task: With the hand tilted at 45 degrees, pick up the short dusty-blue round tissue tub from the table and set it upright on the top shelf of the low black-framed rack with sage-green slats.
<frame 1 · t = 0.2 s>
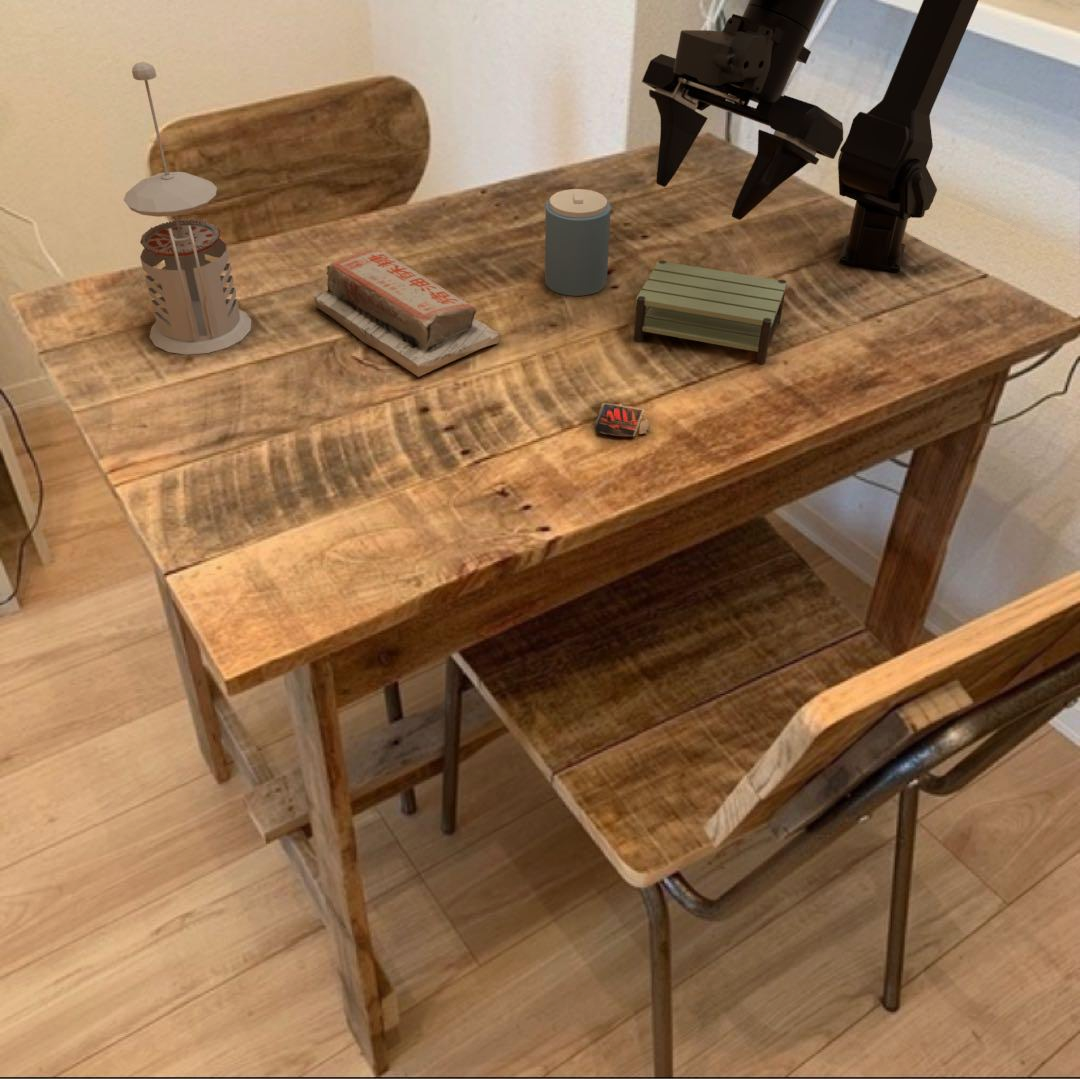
hand: (697, 201, 94), 14 cm above the table, tool tilted 30°, fingers open, 9 cm apart
tissue tub: (575, 281, 114), on the table
french press: (202, 334, 105), on the table
matchbox: (621, 424, 93), on the table
packaged product: (404, 328, 106), on the table
rack: (707, 331, 106), on the table
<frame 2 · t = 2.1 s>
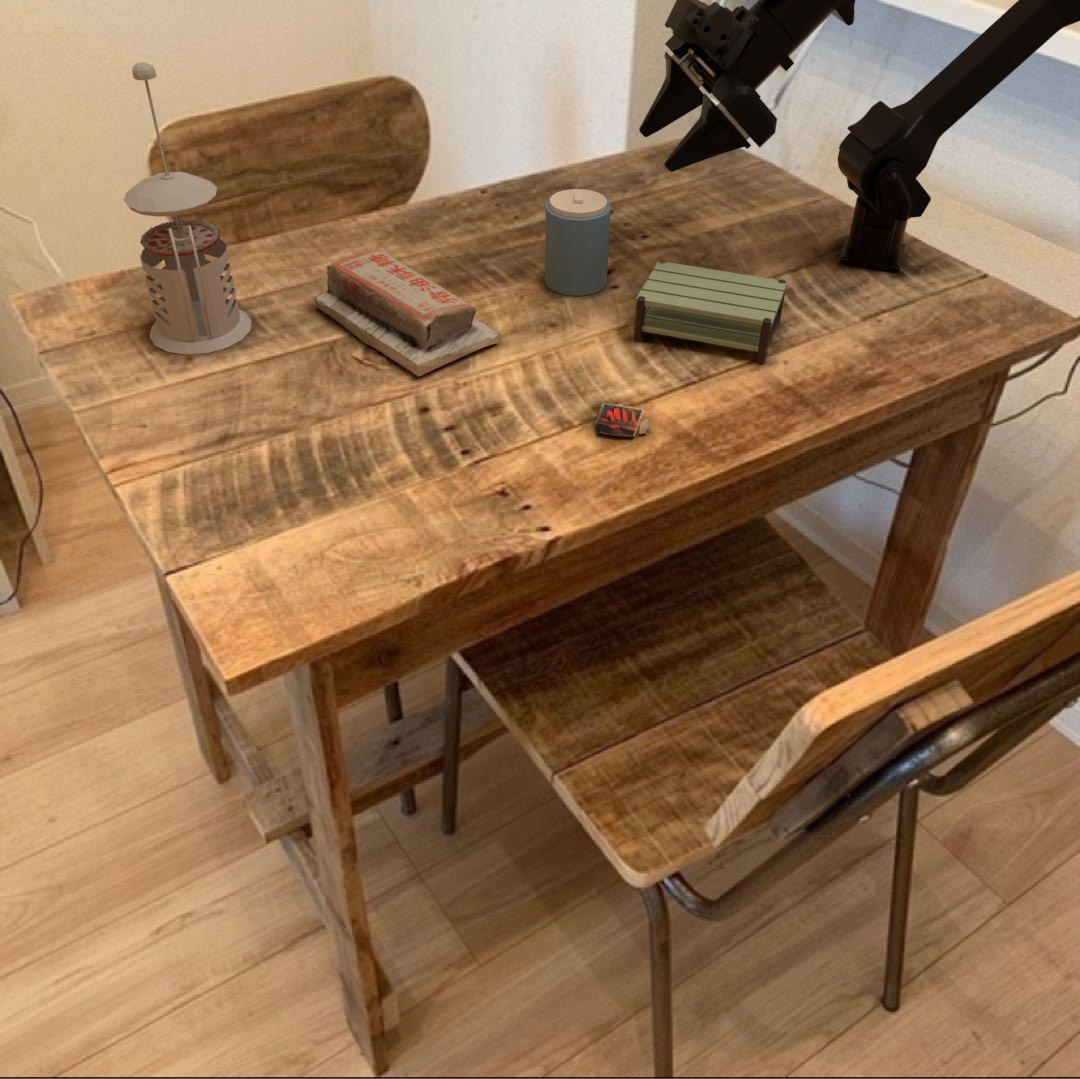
hand: (654, 150, 106), 13 cm above the table, tool tilted 45°, fingers open, 9 cm apart
nothing on the table moved.
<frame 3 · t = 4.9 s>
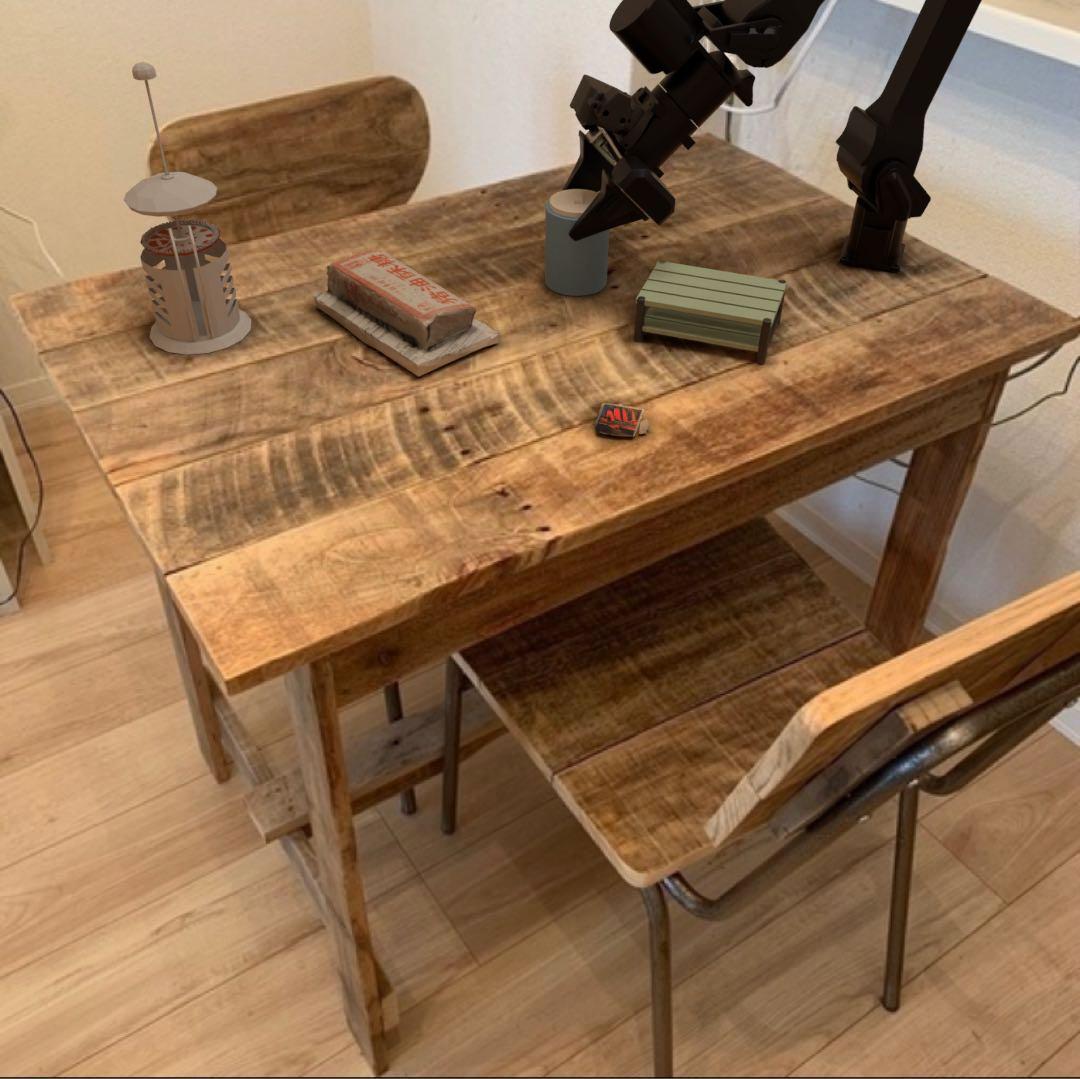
hand: (564, 223, 109), 7 cm above the table, tool tilted 45°, fingers closed on tissue tub, 6 cm apart
tissue tub: (575, 281, 114), on the table, touching gripper
everything else where it was.
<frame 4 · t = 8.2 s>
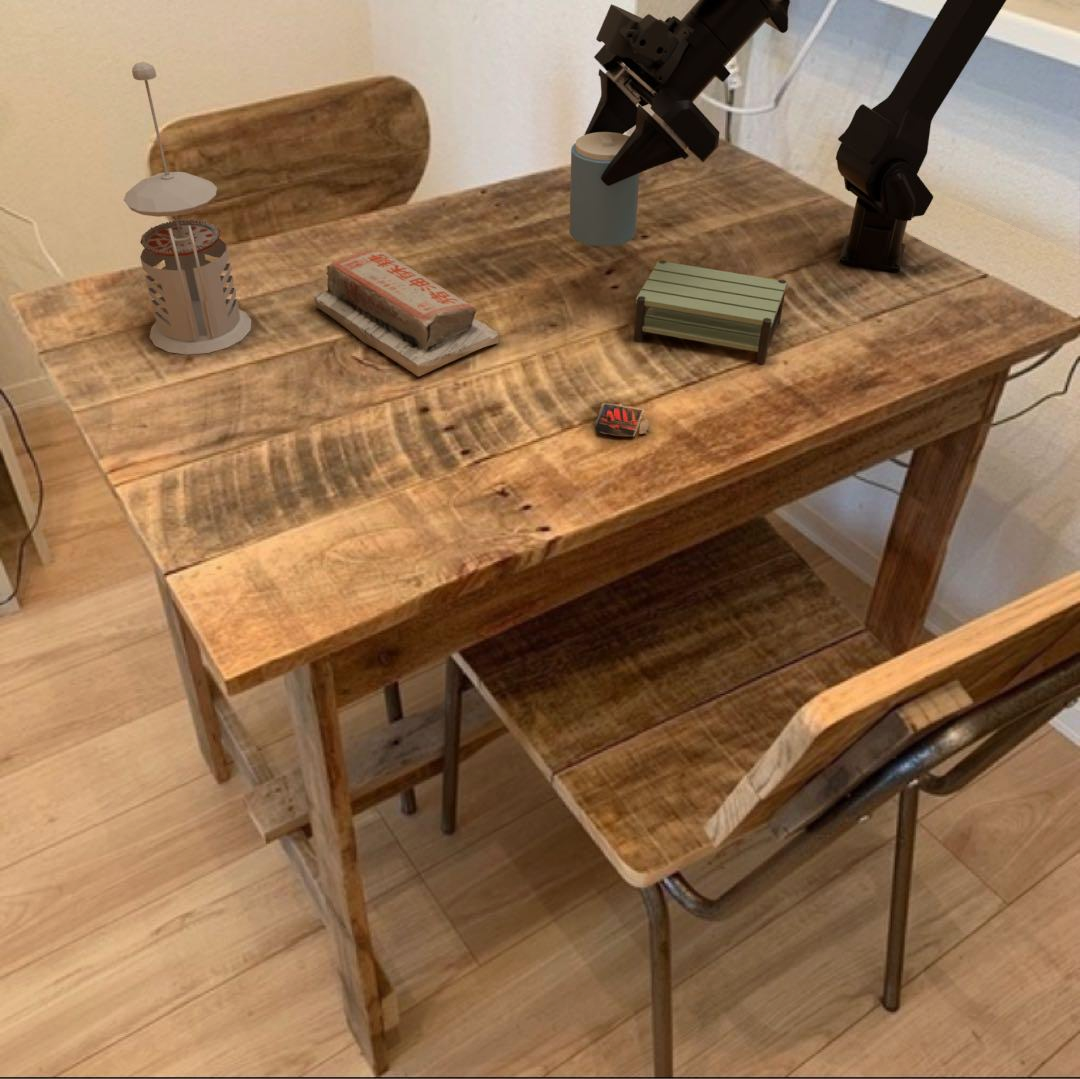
hand: (591, 168, 102), 14 cm above the table, tool tilted 45°, fingers closed on tissue tub, 6 cm apart
tissue tub: (602, 232, 107), point 7 cm above the table, touching gripper
everything else where it was.
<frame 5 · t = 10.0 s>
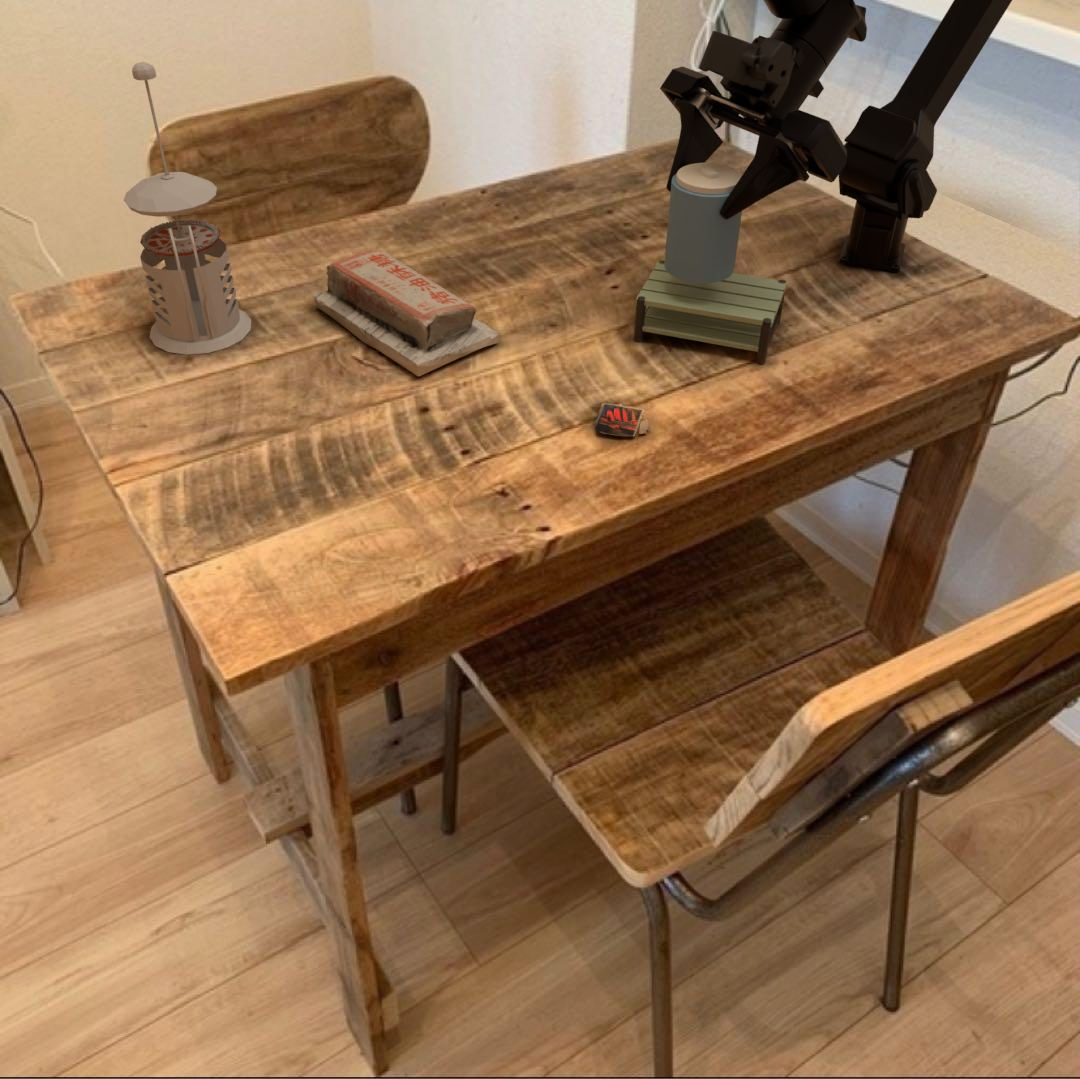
hand: (695, 203, 96), 13 cm above the table, tool tilted 45°, fingers closed on tissue tub, 6 cm apart
tissue tub: (699, 266, 101), point 7 cm above the table, touching gripper
everything else where it was.
when the fingers open (11 cm above the table, at t = 11.4 s): tissue tub stays where it is, resting on rack.
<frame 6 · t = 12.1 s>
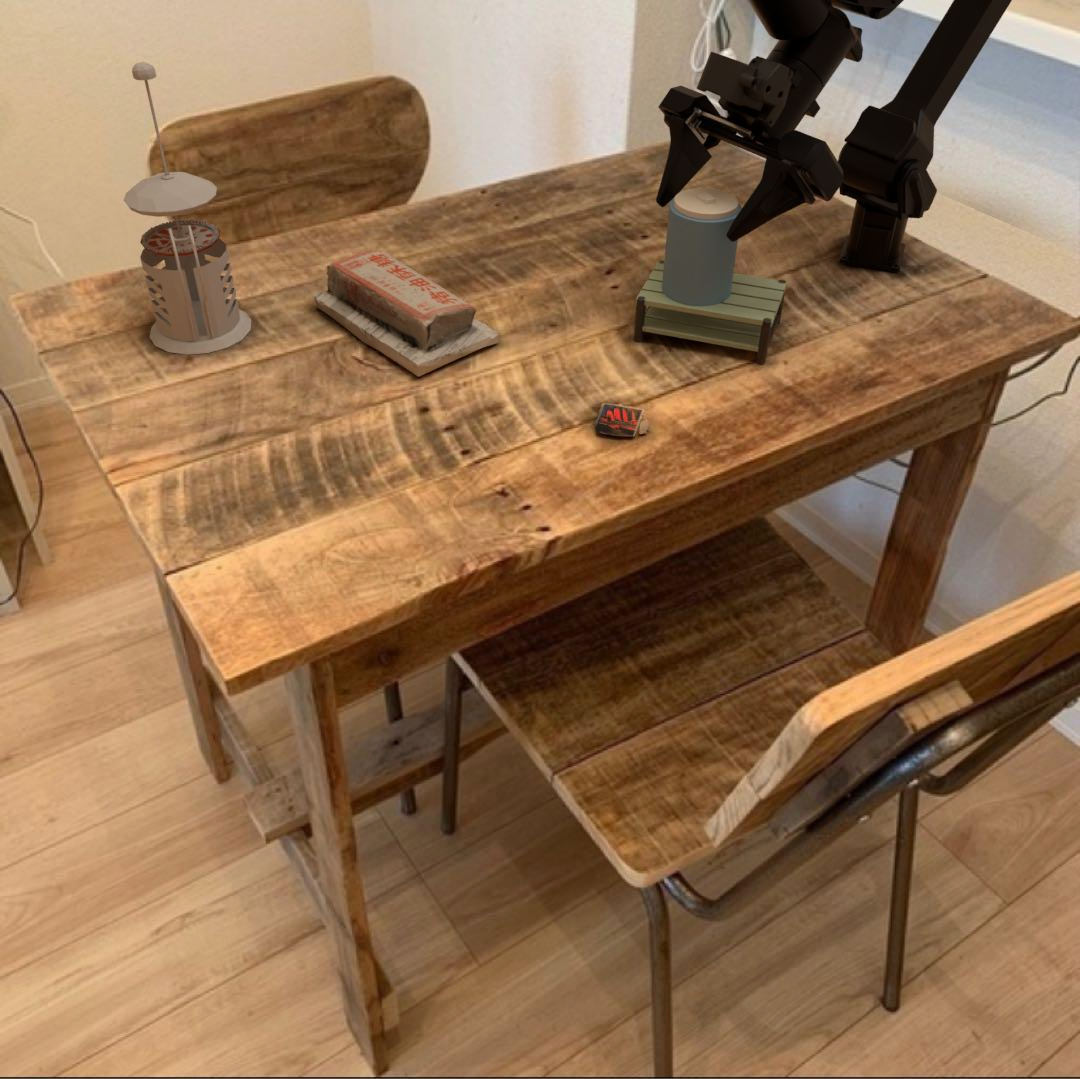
hand: (693, 221, 97), 12 cm above the table, tool tilted 45°, fingers open, 9 cm apart
tissue tub: (696, 289, 103), point 4 cm above the table, touching rack
everything else where it was.
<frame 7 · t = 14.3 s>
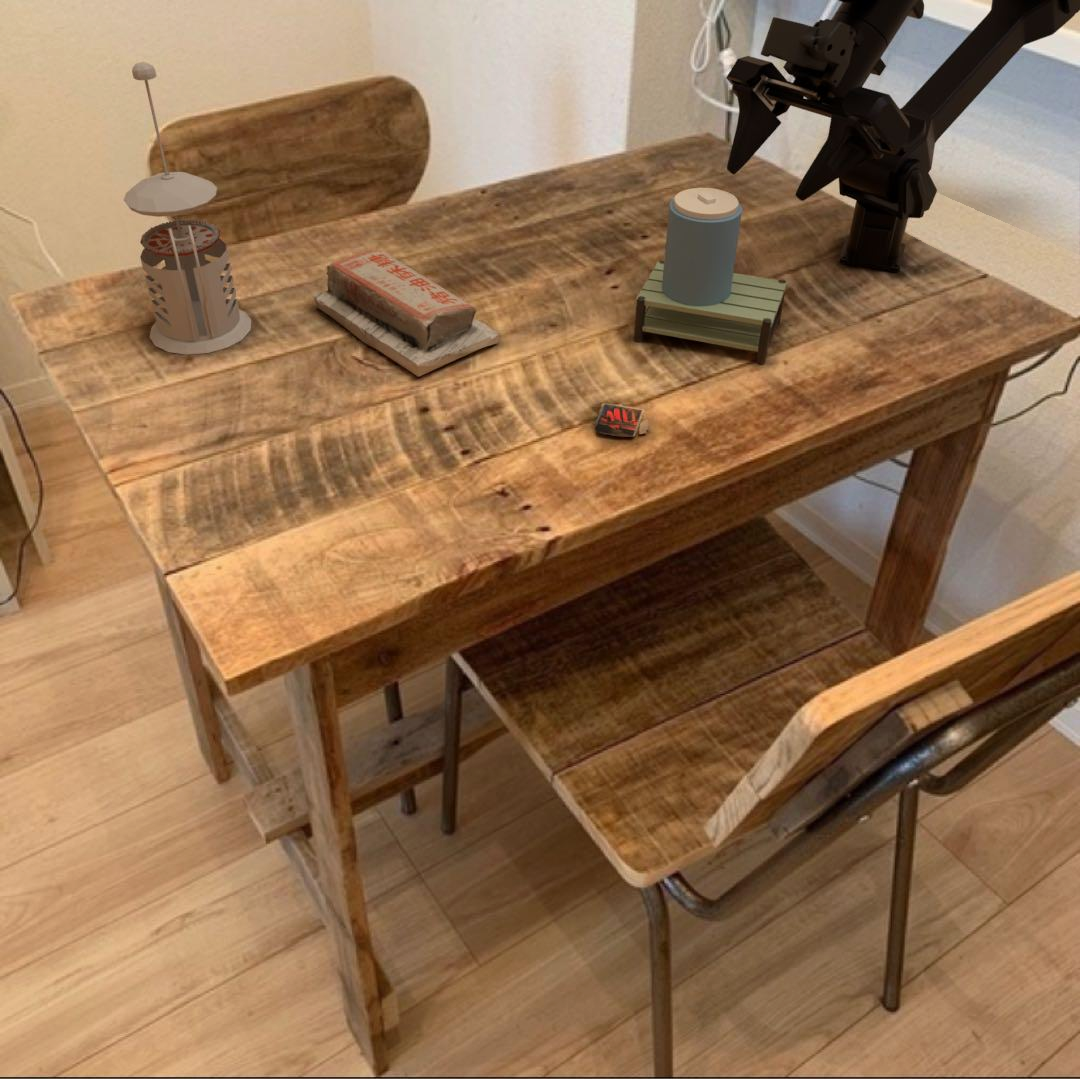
hand: (763, 184, 100), 13 cm above the table, tool tilted 40°, fingers open, 9 cm apart
nothing on the table moved.
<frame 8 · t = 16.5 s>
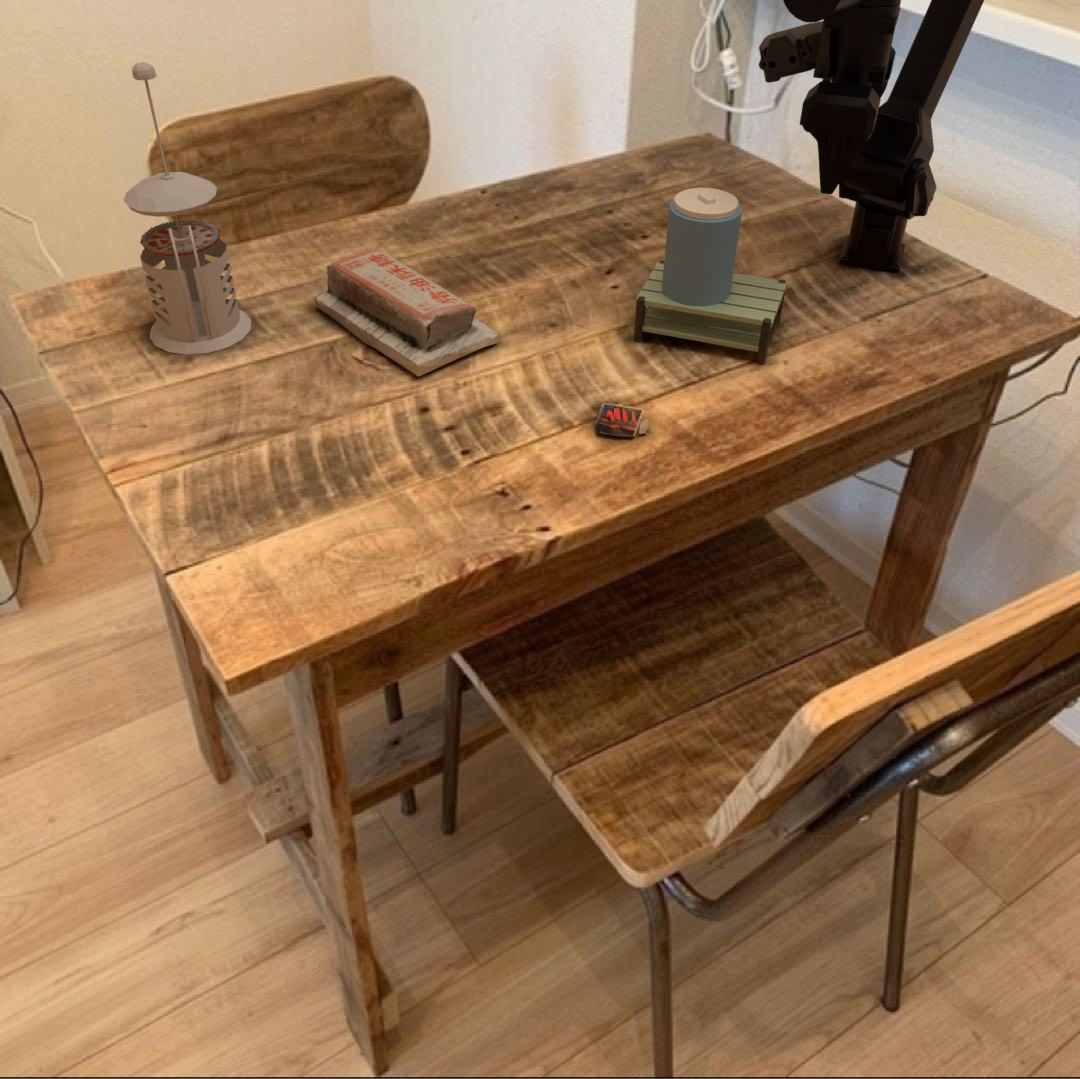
hand: (833, 175, 103), 13 cm above the table, tool pointing down, fingers open, 9 cm apart
nothing on the table moved.
at the end: tissue tub inside the target area on the rack (1.6 cm from its centre), point 4.5 cm above the rack's base; tissue tub tilted 0°; the gripper is holding nothing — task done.
